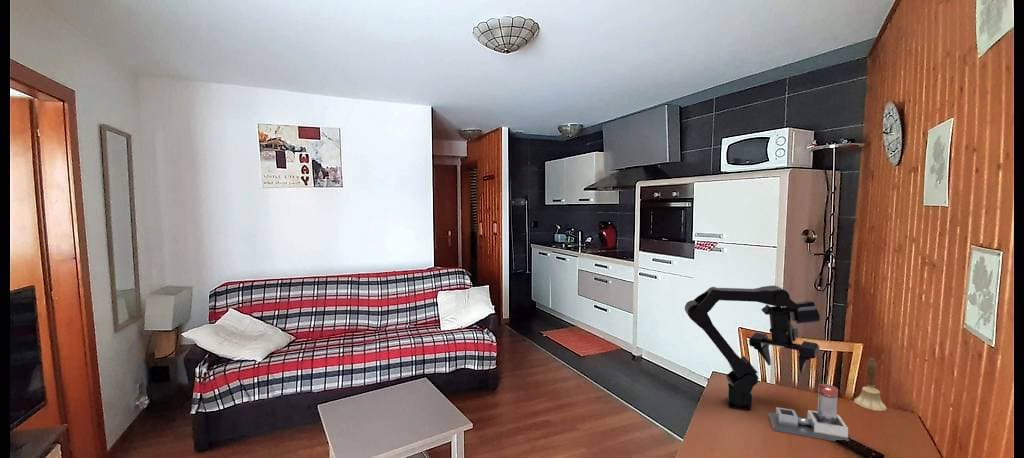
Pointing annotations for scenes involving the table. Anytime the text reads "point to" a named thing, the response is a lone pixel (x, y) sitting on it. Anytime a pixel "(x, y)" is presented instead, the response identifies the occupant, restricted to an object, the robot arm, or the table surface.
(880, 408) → the hand bell
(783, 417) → the desk organizer
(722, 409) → the table surface
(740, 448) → the table surface
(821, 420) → the grey jar
